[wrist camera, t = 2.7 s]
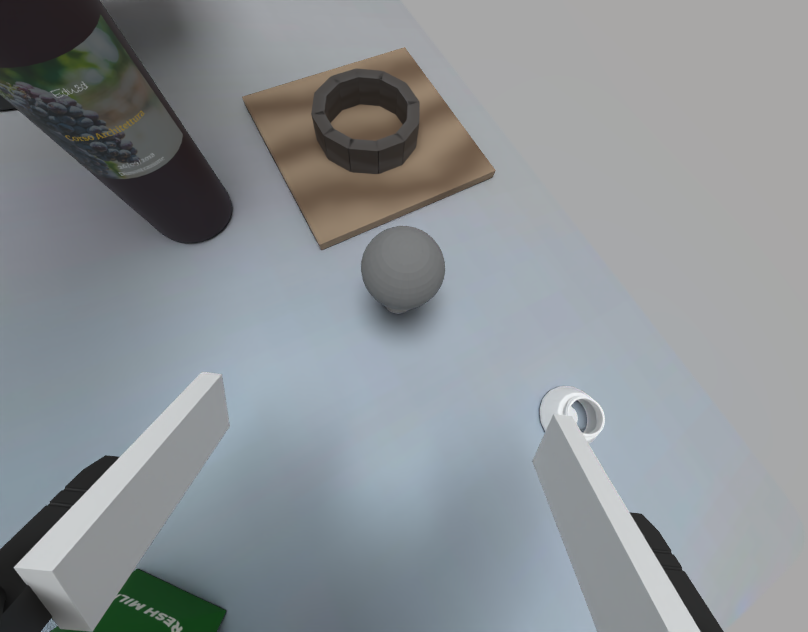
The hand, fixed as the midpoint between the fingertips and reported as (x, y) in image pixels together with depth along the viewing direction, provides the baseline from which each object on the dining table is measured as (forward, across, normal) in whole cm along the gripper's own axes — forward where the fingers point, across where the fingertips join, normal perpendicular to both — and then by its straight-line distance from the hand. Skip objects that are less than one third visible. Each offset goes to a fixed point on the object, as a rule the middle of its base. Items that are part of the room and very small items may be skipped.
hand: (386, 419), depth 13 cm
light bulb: (+18, 0, -3) cm, 18 cm away
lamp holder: (+30, -5, +10) cm, 33 cm away
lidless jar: (+12, +16, -9) cm, 22 cm away
